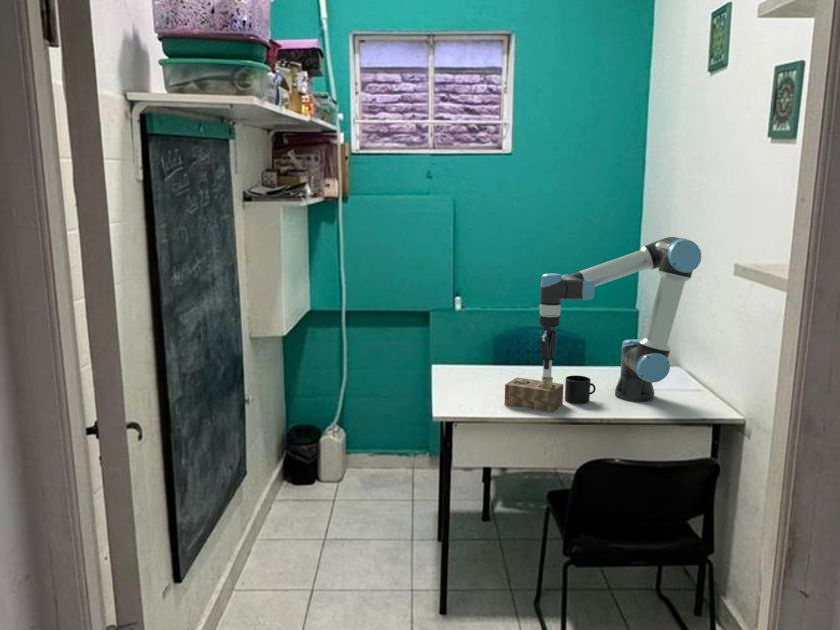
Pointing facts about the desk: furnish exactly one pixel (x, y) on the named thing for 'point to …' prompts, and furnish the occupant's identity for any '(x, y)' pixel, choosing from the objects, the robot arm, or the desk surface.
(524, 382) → the peg
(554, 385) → the walnut block
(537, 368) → the desk surface
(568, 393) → the mug
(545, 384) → the peg
